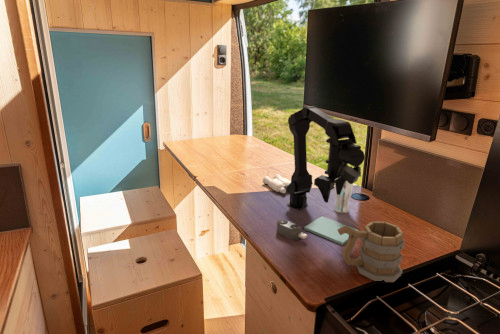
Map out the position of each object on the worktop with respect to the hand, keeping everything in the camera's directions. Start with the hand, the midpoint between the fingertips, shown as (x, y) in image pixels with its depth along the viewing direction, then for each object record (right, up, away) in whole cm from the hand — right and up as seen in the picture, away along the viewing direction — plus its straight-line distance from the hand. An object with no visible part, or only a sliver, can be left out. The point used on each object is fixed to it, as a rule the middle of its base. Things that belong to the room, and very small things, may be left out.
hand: (332, 198), depth 126 cm
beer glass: (+8, -7, +19) cm, 22 cm away
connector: (-15, -14, 0) cm, 20 cm away
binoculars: (-16, +1, +42) cm, 45 cm away
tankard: (+6, -20, -19) cm, 28 cm away
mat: (0, -12, +3) cm, 13 cm away
